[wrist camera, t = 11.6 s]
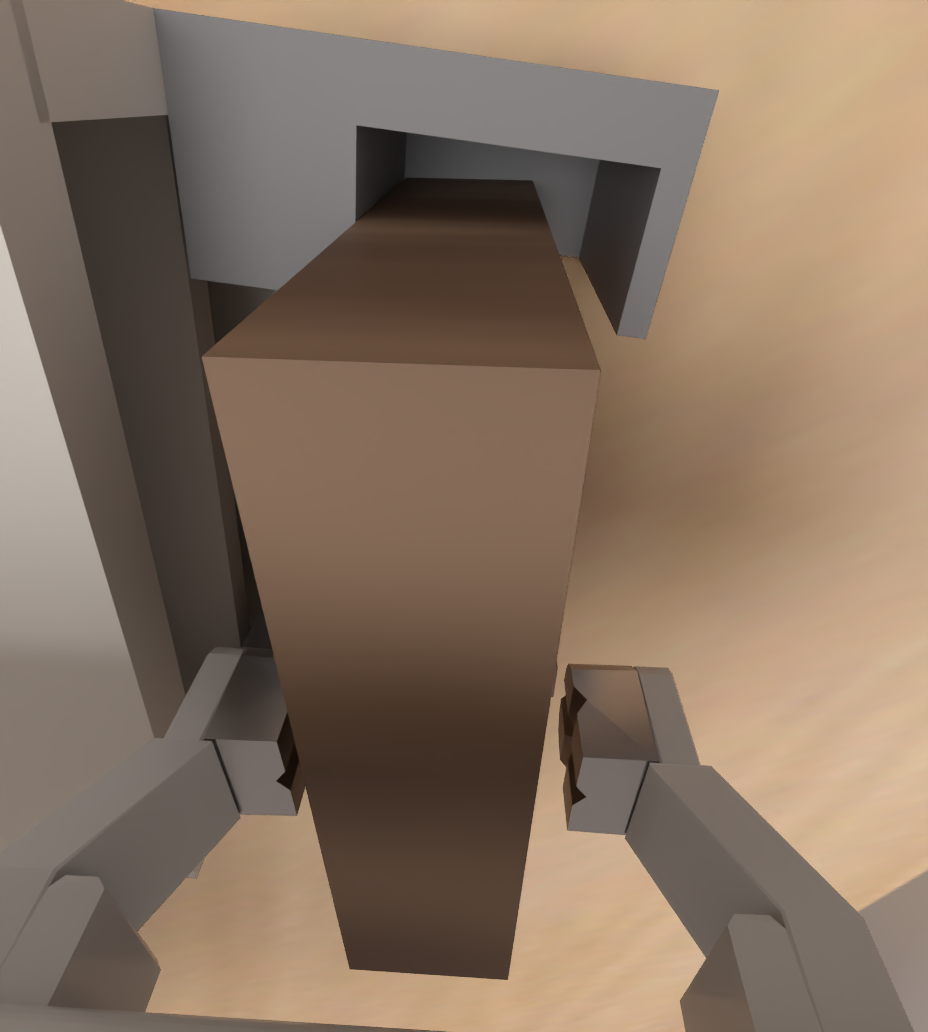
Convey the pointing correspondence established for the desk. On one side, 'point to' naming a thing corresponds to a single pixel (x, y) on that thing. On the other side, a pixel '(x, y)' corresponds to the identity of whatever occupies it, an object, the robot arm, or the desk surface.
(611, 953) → the desk surface
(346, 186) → the cabinet
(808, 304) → the desk surface
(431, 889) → the wooden block
